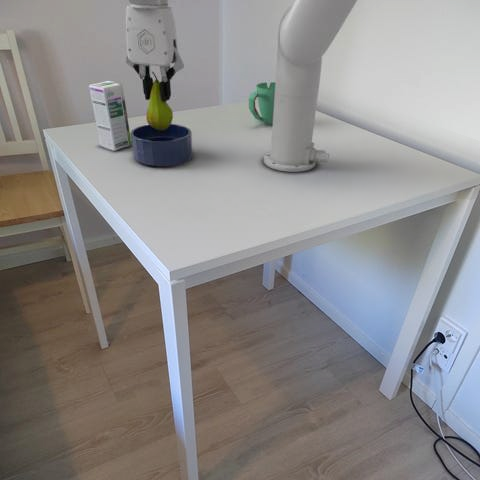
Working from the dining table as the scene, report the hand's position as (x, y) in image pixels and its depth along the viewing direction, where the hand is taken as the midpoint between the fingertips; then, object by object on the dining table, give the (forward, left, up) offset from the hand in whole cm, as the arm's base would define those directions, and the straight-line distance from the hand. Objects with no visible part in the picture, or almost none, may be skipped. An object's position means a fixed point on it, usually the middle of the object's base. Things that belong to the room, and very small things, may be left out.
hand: (157, 98), depth 96 cm
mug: (-16, -37, -13) cm, 42 cm away
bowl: (0, 0, -13) cm, 13 cm away
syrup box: (+15, -3, -13) cm, 20 cm away
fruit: (0, 0, -7) cm, 7 cm away
